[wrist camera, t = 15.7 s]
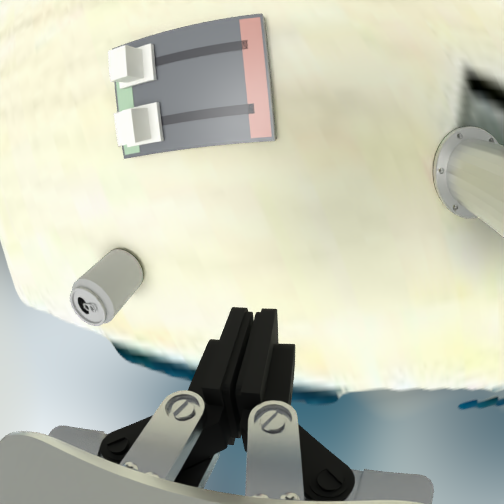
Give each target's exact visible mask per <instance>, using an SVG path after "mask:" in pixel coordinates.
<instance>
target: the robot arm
mask: <svg viewBox="0 0 504 504" xmlns="http://www.w3.org/2000/svg"><path fill="white" fill-rule="evenodd" d="M457 134H458V137H457ZM439 168H440V171H438V170H439ZM433 176H434V183H435V188H436V191H437V193H438V196H439V198H440V199H441V201H442V202H443V204H444V205H445V206H446V207H447V208H448V209H449V210H450V211H451V212H453V213H454V214H456V215H458V216H460V217H463V218H477V217H478V218H479V219H481V220H482V221H483V222H485V223H486V224H487V225H489V226H490V227H491V228H492V229H494V230H495V231H496V232H497V233H499V234H500V235H501V236H502V237H503V238H504V146H502V145H500V144H499V143H498V142H497V140H496V139H495V138H494V137H493V136H492V135H491V134H490V133H489V132H487V131H485V130H484V129H481V128H478V127H473V126H465V127H460V128H457V129H455V130H454V131H452V132H451V133H449V134H448V135H447V136H446V137H445V138H444V140H443V141H442V143H441V144H440V146H439V148H438V150H437V153H436V156H435V160H434V168H433ZM453 205H454V206H453ZM294 367H295V344H278V320H277V309H262V310H261V312H256V314H255V318H254V320H253V312H248V309H247V308H238V307H232V309H231V311H230V314H229V316H228V319H227V322H226V324H225V327H224V329H223V332H222V334H221V337H220V340H214V339H211V340H209V342H208V344H207V346H206V349H205V351H204V353H203V356H202V358H201V360H200V363H199V365H198V367H197V370H196V372H195V375H194V377H193V379H192V382H191V384H190V387H189V389H188V391H186V390H185V391H178V392H174V393H172V394H171V395H169V396H167V397H166V398H165V399H164V401H163V402H162V403H161V405H160V406H159V408H158V409H157V411H156V412H155V414H154V415H153V416H150V417H148V418H146V419H143V420H141V421H138V422H136V423H134V424H131V425H129V426H126V427H124V428H121V429H118V430H116V431H114V432H111V433H110V434H105V433H104V432H103V431H96V430H88V429H82V428H75V427H69V426H58V427H56V428H54V429H53V430H52V431H51V432H50V434H49V436H48V435H45V434H41V433H37V432H28V431H27V432H26V431H18V432H12V433H10V434H8V435H6V436H5V437H4V438H3V439H2V440H1V441H0V504H432V498H433V493H434V489H433V484H432V482H431V480H430V479H428V478H427V477H426V476H423V475H417V474H404V473H392V472H382V471H374V470H367V469H364V471H358V470H352V469H350V468H349V467H348V466H347V465H346V464H345V463H343V462H342V461H341V460H340V459H339V458H337V457H336V456H335V455H334V454H332V453H331V452H330V451H329V450H328V449H326V448H325V447H324V446H323V445H322V444H321V443H319V442H318V441H317V440H316V439H315V438H313V437H312V436H311V435H310V434H309V433H308V432H307V431H305V430H304V429H303V428H302V427H301V426H300V425H299V424H298V418H297V414H296V411H295V410H294V409H293V407H292V406H291V399H292V390H293V380H294ZM241 434H242V439H243V443H244V448H245V451H246V452H247V467H246V492H245V493H246V494H245V496H242V495H235V494H229V493H223V492H217V491H212V490H207V489H203V488H204V486H205V484H206V482H207V480H208V478H209V476H210V474H211V472H212V470H213V468H214V466H215V464H216V462H217V460H218V458H219V455H220V451H222V450H224V449H226V448H227V445H228V444H229V445H234V441H235V438H240V437H241Z"/></svg>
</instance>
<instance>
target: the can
mask: <svg viewBox="0 0 504 504" xmlns="http://www.w3.org/2000/svg"><path fill="white" fill-rule="evenodd" d="M142 280H143V271H142V268H141V266H140V264H139V262H138V261H137V260H136V258H135V257H134V256H133V255H131V254H130V253H129V252H127V251H124V250H120V249H115V250H112V251H110V252H109V253H108V254H107V255H105V256H104V257H103V258H102V259H101V260H100V261H98V262H97V263H96V264H95V265H94V266H93V267H92V268H90V269H89V270H88V271H87V272H86V273H85V274H84V275H82V276H81V277H80V278H79V279H78V280H77V281H76V282H75V283H74V285H73V287H72V291H71V294H70V302H71V305H72V308H73V309H74V311H75V313H76V314H77V315H78V316H79V317H80V318H81V319H82V320H83V321H84V322H86V323H88V324H90V325H94V326H100V325H101V324H103V323H108V322H110V321H111V320H112V319H113V318H114V316H115V315H116V314H117V313H118V311H119V310H120V309H121V308H122V307H123V305H124V304H125V303H126V302H127V301H128V299H129V298H130V297H131V296H132V295H133V293H134V292H135V291H136V290H137V289H138V287H139V286H140V285H141V283H142Z"/></svg>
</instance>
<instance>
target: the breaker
mask: <svg viewBox="0 0 504 504" xmlns="http://www.w3.org/2000/svg"><path fill="white" fill-rule="evenodd" d="M114 119H115V127H116V134H117V141H118V146H122V145H127V147H132V146H137V145H142V144H148V143H153V142H159V141H164V138H163V130H162V122H161V114H160V105H159V102H155V103H150V104H146V105H142V106H138V107H134V108H130V109H126V110H122V111H121V112H117V113H114Z"/></svg>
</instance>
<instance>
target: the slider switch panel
mask: <svg viewBox="0 0 504 504" xmlns="http://www.w3.org/2000/svg"><path fill="white" fill-rule="evenodd" d="M150 43H151V44H154V56H155V68H156V79H157V80H154V81H150V82H146V83H142V84H139V85H135V86H132V87H128V88H125V89H120V86H119V82H115V93H116V103H117V111H118V112H121V111H122V110H126V109H130V108H134V107H138V106H142V105H146V104H150V103H155V102H159V105H160V114H161V122H162V130H163V138H164V141H159V142H153V143H148V144H142V145H137V146H132V147H127V145H122V149H123V155H124V159H126V158H131V157H137V156H142V155H148V154H155V153H161V152H168V151H175V150H182V149H190V148H198V147H206V146H215V145H225V144H236V143H248V142H263V141H275V140H276V132H275V120H274V108H273V97H272V86H271V76H270V66H269V56H268V46H267V37H266V28H265V19H264V16H263V14H254V15H246V16H238V17H231V18H225V19H219V20H214V21H208V22H203V23H199V24H194V25H190V26H185V27H181V28H177V29H173V30H169V31H166V32H162V33H158V34H155V35H152V36H148V37H145V38H142V39H139V40H136V41H133V42H130V43H127V44H124V45H127V46H131V47H135V48H137V47H140V46H144V45H147V44H150ZM121 46H123V45H121ZM121 46H118V47H121ZM118 47H116V48H118ZM113 49H115V48H113Z"/></svg>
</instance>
